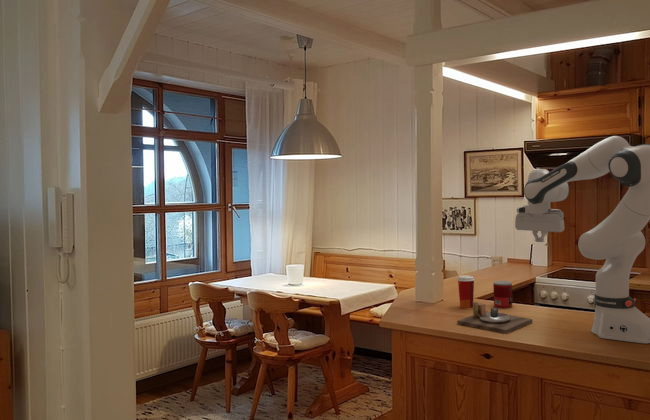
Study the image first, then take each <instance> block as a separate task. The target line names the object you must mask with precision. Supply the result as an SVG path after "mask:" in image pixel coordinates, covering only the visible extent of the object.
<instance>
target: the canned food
mask: <svg viewBox="0 0 650 420" xmlns="http://www.w3.org/2000/svg"><path fill="white" fill-rule="evenodd" d="M492 283H493V305H494V308H498V309H510V308H512V307H513V283H512V281H508V280H497V281H495V280H494V281H493V282H492Z"/></svg>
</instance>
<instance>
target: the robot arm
mask: <svg viewBox="0 0 650 420" xmlns="http://www.w3.org/2000/svg"><path fill="white" fill-rule="evenodd" d="M609 173H610V175H611V176H612V177H613V178H614V179H615V180H616V181H618V182H619V183H620V184H621V186H624V187H628V189H627V191H626V192H625V194H624V195H623V196H622V199H621V200H620V201H619V202H618V203H617V205H616V207H615V208H614V210H613V211H612V212H611V213H610V214H609V215H608V216H607V217H606V218H604V219H603V220H602V221H601V222H600V223H598V224H597V225H596V226H594V227H593V228H591V229H590V230H588V231H586V232H584V233H582V234H581V235H580V237H579V238H578V241H577V244H578V250H579V252H580V254H581V255H582V256H583V257H584V258H587V259H591V260H605V262H604V263H603V266H601V267H600V268H599V270H597V271H596V273H595V293H594V297H593V298H594V299H593V300H594V301H593V302H594V303H593V304H594V309H595V310H594V319H593V324H592V328H591V330H590V331H591V333H592V334H594V335H596V336H597V337H598V338H600V339H606V340H613V341H621V342H628V343H629V342H630V343H638V344H650V317H649V316H647V315H646V314H644V313H643V311H641V310H640V309H638V308H637V307H636V306H635V303H636V300H637V297H636V298H633V297H631V296H630V276H631V271H632V267H633V265H634V263H635V261H636V259H637V257H638V256H639V255H640V254H641V253H642V252H643V251H644V249H645V247H646V238H645V236H644V234H643V232H642V231H643V229H645V227H646V225H647V224H648V222H650V143H639V144H637V145H636V146H634V145H633V146H632V145H630V143H629V142H628V141H627V140H626V139H625V138H624V137H621V136H619V135H612V136H609V137H607V138H604V139H602V140H600V141H598V142H596V143H595V144H594V145H592V146H590V147H589V148H587V149H586V150H585V151H583V152H581V153H580V154H578V155H577V156H574V157H573V158H572V159H570V160H568V161H567V162H565V163H564V164H561V165H559V166H558V167H556V168H554V169H552V170H551V171H549V170H548V169H542V168H541V169H537V170H531V171H530V172H529V173H528V177H527V182H526V184H525V185H524V189H523V195H524V197H525V198H526V200H527V204H526V205H523V206H520V207H518V208H516V213H517V214H515V220H514V222H515V223H514V226H515V229H516V230H517V231H531V234H532V235H533V237H534V238H535V239H534V241H535V242H537V243H543V242H544V241H545V237H546V235H547V232H549V233H552V232H553V233H562V232H564V231H565V221H564V217H565V213H564V212H563V211H562V210H561V209H559V208H558V209H557V208H556V209H555V208H551V203H554V202H555V203H556V202H561V201H565V200H566V199H567V198H568V197H569V194H570V184H569V182H574V181H576V182H577V181H584V180H593V179H597V178H601V177H603V176H606V175H607V174H609ZM539 232H540V234H541V236H539V235H538V233H539Z"/></svg>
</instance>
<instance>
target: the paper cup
mask: <svg viewBox="0 0 650 420" xmlns="http://www.w3.org/2000/svg"><path fill="white" fill-rule="evenodd" d="M456 280H457V284H458V296H459V306H460V308H461V309H464V308H470V309H473V302H474V291H475V289H474V287H475V277H474V276H473V275H469V274H468V275H467V274H466V275H458V277H457V279H456Z"/></svg>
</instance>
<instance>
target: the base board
mask: <svg viewBox="0 0 650 420" xmlns="http://www.w3.org/2000/svg"><path fill="white" fill-rule="evenodd" d="M478 303H479V302H478V301H473V308H472V313H473V314H472V315H469V316H466V317H463V318H461V319H458V320H457V321H456V322H457V324H456V325H460V326H466V327H470V328H475V329H480V330H484V331H490V332H494V333H500V334H505V335H507V334H509V333H513V331H516V330H519V329H521V328H523V327H526V326H529V325H531V324H532V323H533V318H528V317H524V316H516V315H511V314H508V315H509V316H510V321H508V322H504V323H488V322H483V321H481V320H480V319H479V314H478ZM486 313H491V311H487V310H486Z"/></svg>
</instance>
